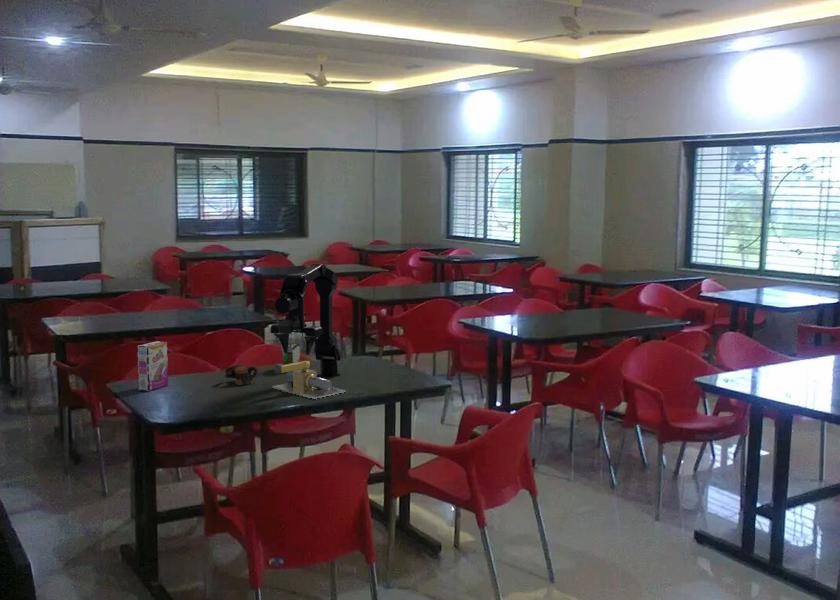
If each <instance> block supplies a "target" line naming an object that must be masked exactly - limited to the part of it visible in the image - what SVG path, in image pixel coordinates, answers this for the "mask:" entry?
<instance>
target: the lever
mask: <svg viewBox="0 0 840 600" xmlns="http://www.w3.org/2000/svg"><path fill="white" fill-rule="evenodd" d="M310 364H311V363H310V361H309V360H300V362H297V363H292V364H286V365H284V364H282V363H275V364H274V365H273V366H274V373H275V374H282V373H287V372H289V371H292V372H293V371H294V370H295V371H296V370H301V369H305V368H308V369H309V368H310V366H311V365H310Z"/></svg>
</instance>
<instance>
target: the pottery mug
mask: <svg viewBox="0 0 840 600" xmlns="http://www.w3.org/2000/svg"><path fill="white" fill-rule="evenodd" d="M252 371H253V374H252ZM258 373H259V369H258V368H257V366H254V365H253V366H249V367H246V366H245V364H243V363H239V364H236V365H231V366H230V367H228V368H226V369H225V376H224V378H225V379H226V378H228V379H235V384H236V386H237V385H241V386H243V385H244V386H245V385H251V384H250V383H251V382H252V381H253V379H254V378H256V377H257V375H258Z"/></svg>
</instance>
